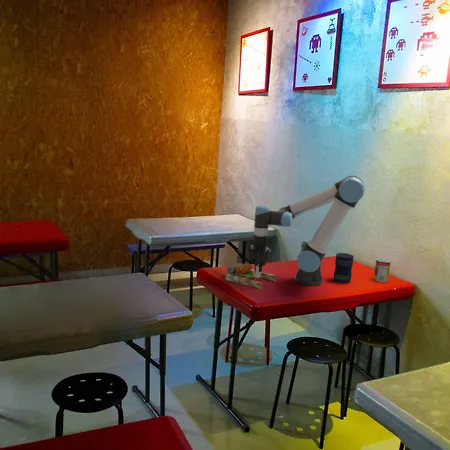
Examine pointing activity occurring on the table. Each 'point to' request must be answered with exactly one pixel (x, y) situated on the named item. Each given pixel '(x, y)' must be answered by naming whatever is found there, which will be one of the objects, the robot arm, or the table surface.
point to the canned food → (382, 270)
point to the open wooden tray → (233, 277)
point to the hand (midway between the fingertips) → (257, 277)
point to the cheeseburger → (245, 271)
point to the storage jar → (343, 268)
